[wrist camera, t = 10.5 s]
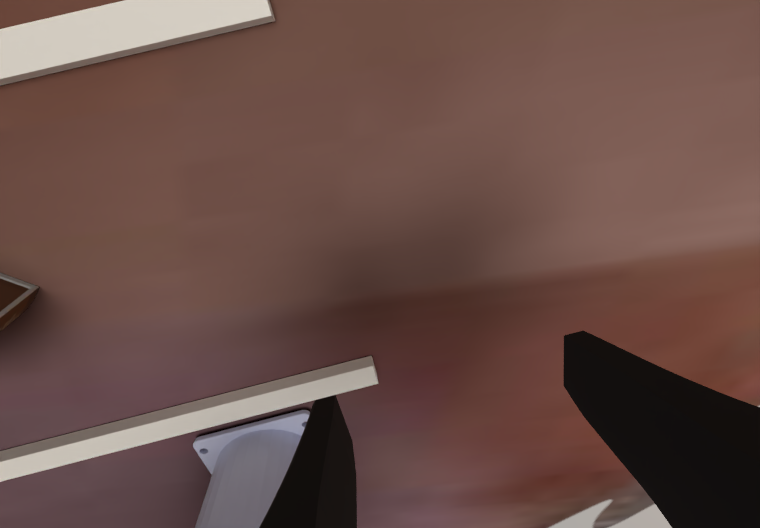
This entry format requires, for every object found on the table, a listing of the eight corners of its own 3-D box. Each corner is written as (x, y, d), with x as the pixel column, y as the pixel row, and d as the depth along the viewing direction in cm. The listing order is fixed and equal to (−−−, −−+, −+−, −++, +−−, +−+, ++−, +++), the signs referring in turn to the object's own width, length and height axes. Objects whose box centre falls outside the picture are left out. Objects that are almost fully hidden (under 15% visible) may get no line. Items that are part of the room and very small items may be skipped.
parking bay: (376, 372, 23) (378, 383, 23) (-96, 495, 23) (-114, 511, 22) (263, -22, 14) (258, -31, 14) (-525, 161, 14) (-585, 164, 13)
